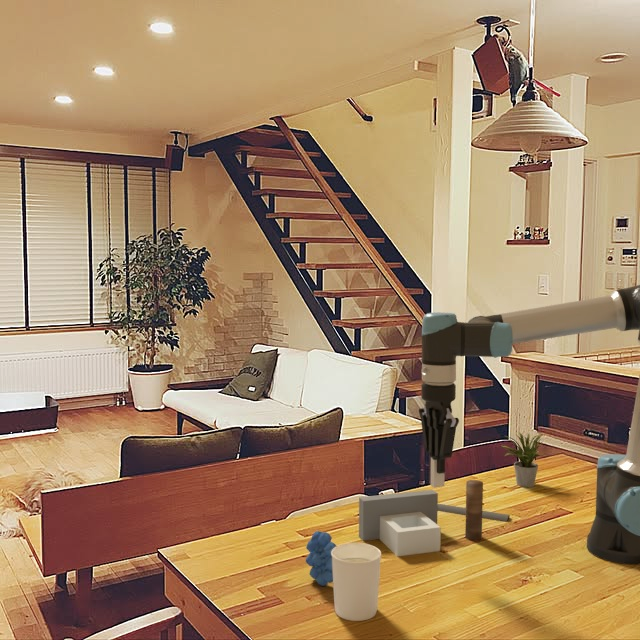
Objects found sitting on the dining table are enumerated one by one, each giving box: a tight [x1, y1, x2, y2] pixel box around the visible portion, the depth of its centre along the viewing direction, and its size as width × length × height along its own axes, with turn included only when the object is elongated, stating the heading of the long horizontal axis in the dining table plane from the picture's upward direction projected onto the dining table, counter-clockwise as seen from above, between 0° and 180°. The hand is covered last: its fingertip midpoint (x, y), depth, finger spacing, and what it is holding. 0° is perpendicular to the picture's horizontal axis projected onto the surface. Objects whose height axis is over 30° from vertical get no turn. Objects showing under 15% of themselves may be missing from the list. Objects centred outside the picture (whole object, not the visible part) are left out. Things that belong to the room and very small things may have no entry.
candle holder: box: [331, 542, 382, 622], centre depth 146 cm, size 10×10×12 cm
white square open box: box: [379, 512, 441, 557], centre depth 179 cm, size 11×11×6 cm
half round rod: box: [437, 503, 510, 523], centre depth 201 cm, size 4×20×2 cm, turn 63°
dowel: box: [464, 479, 484, 542], centre depth 183 cm, size 4×4×14 cm
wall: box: [358, 489, 439, 542], centre depth 186 cm, size 3×20×10 cm, turn 107°
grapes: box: [305, 530, 337, 587], centre depth 157 cm, size 12×7×12 cm, turn 30°
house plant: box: [500, 431, 546, 488], centre depth 227 cm, size 14×14×16 cm
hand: (437, 485), depth 167 cm, fingers closed
